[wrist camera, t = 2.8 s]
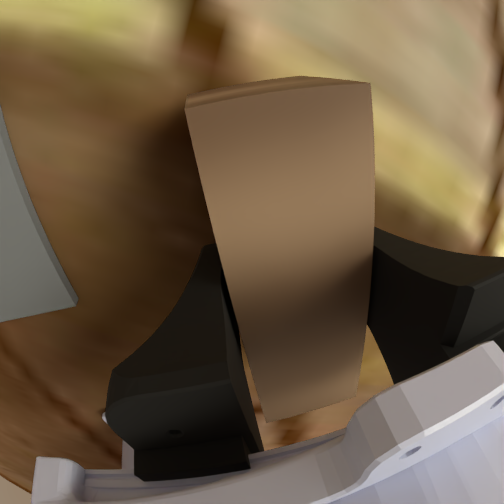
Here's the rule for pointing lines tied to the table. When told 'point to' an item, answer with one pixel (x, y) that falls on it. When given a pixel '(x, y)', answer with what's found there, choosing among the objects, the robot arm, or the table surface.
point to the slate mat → (25, 249)
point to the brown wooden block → (292, 228)
